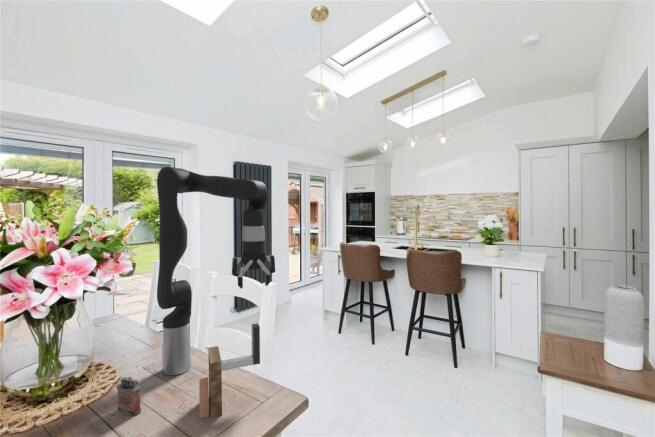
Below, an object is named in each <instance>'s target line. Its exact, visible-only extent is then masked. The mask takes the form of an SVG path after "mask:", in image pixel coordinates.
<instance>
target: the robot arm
mask: <svg viewBox="0 0 655 437" xmlns="http://www.w3.org/2000/svg"><path fill="white" fill-rule="evenodd" d="M156 188H157V197H158V209H159V210H158V212H159V214H158V215H159V230H158V231H159V232H158V238H159V239H158V240H159V241H158V246H159V247H158V248H159V251H158V252H159V265H158V266H159V268H158V277H157V279H158V280H157V287H156V298H157V299H156V300H157V304H158V306H159V308H160V309H162V310H167V309H172V308H173V310H172V311H171V312H170V313H168V314H167V315H165V316H164V317H163V319H162V354H161V355H162V356H161V358H162V370H163V374H165V375H167V376H177V375H181V374H184V373H186V372H188V371H190V369H191V367H192V363H191V362H192V359H191V353H192V352H191V346H192V345H191V316H192V301H193V300H192V298H193V297H192V296H193V294H192V292H193V291H192V286H191V283H190V282H189V281H188V280H185V279H181V280H177V281H176V280H175V281H173V275H174V272H175V269H176V267H177V265H178V264H179V263H180V260H182V258H183V256H184V254H185V253H186V250H187V247H188V228H187V224H186V223H185V221H184V218H183V216H182V214H181V213H180V208H179V207H178V194H185V193H205V194H208V195H212V196H216V197H221V198H228V199H230V198H231V199H237V200H241V201H247V202H248V204H247V205H248V206H247V208H245V209H244V210H243V212H242V231H241V237H242V238H241V243H242V244H241V246H242V247H241V248H242V249H241V253H242V255H241V257H236V256H233V257H232V260H231V261H232V262H231V264H232V265H231V275H232V277H236V278H237V286H238V288H239V289H243V288H244V286H243V283H244V282H243V275H244V274H245V273H246V272H247V271H248V270H249V271H250V270H260V269H261V270H262V271H263V272H264V286H265V287H267V286H269V284H270V283H271V274H273V273H275V272H276V261H275V256H274V255H273V254H269V255H266V232H265V231H266V230H265V211H266V208H267V207H266V206H267V201H268V188H267V186H266V184H265V183H264V182H263V181H260V180H255V179H249V178H235V177H230V176H221V175H205V174H200V173H196V172H194V171H193V172H192V171H191V170H187V169H184V168H180V167H172V166H164V167H161V168H160V170H159V171H158V173H157V177H156ZM266 261H268V262H269V269H268V268H267V267H266V265H265V262H266ZM240 262H241V263H242V266H241V268H240V270H239V271H238V270H237V268H238V265H239V264H240Z"/></svg>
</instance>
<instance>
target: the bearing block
mask: <svg viewBox="0 0 655 437" xmlns="http://www.w3.org/2000/svg"><path fill="white" fill-rule="evenodd" d="M207 350H208V389H209V411H210V417H211V419H212V418H216V417H221V416H222V415H223V388H222V386H223V385H222V384H223V383H222V382H223V381H222V380H223V379H222V375H223V374H222V372H223V371H221V361H222V359H221V353H220V347H219V346H211V347H208V349H207Z"/></svg>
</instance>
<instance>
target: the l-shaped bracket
mask: <svg viewBox="0 0 655 437" xmlns="http://www.w3.org/2000/svg"><path fill="white" fill-rule="evenodd" d="M260 329H261V327H260V324H259V323H252V324H251V354H249V355H245V356H239V357H233V358H229V359H223V360H221V371H222V372H224V371H229V370H234V369H238V368H244V367H248V366H255V365H260V364H261V332H260V331H261V330H260Z"/></svg>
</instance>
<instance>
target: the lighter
mask: <svg viewBox="0 0 655 437" xmlns="http://www.w3.org/2000/svg"><path fill="white" fill-rule="evenodd" d="M138 384H139V381H138V379H136V378H132V376H128V377H126V376H123V377H121V378H120V383H118V384H117V385H116V390H117V412H118V413H119V414H122V415H125V416H129V417H137V416H139V415H140V414H141V412H142V408H141V389H142V388H141V385H138Z"/></svg>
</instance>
